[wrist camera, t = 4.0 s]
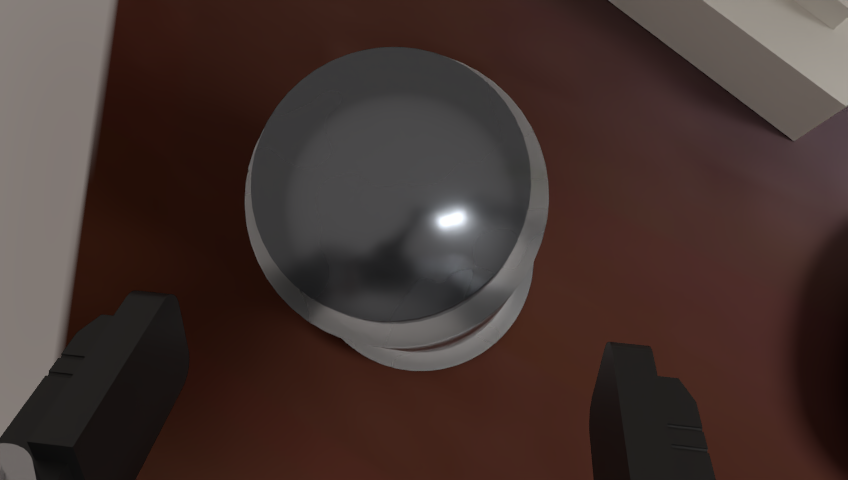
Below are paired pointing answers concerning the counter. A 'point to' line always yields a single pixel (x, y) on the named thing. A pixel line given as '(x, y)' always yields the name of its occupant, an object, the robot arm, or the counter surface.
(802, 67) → the stand
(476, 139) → the knob
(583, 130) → the counter surface
